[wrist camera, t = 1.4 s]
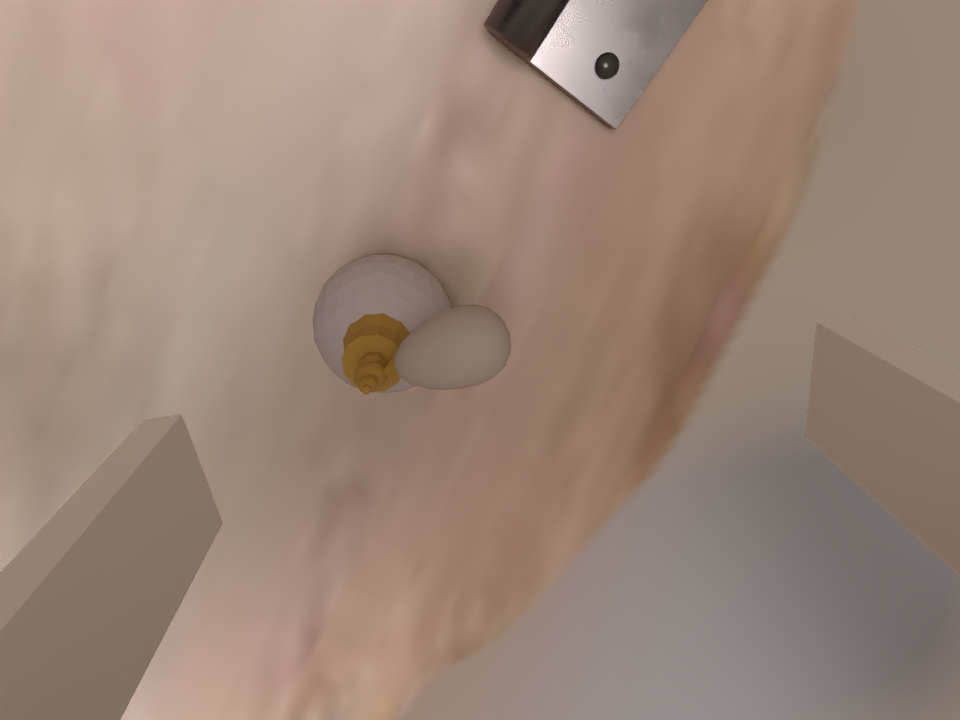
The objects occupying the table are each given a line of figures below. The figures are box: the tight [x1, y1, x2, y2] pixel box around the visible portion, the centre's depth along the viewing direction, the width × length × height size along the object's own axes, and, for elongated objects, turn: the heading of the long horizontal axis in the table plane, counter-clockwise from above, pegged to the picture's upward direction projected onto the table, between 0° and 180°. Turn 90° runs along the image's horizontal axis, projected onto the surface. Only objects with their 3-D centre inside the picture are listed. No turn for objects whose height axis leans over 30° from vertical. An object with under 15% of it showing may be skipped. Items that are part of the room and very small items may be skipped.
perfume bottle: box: [313, 255, 511, 394], centre depth 29 cm, size 8×10×12 cm
